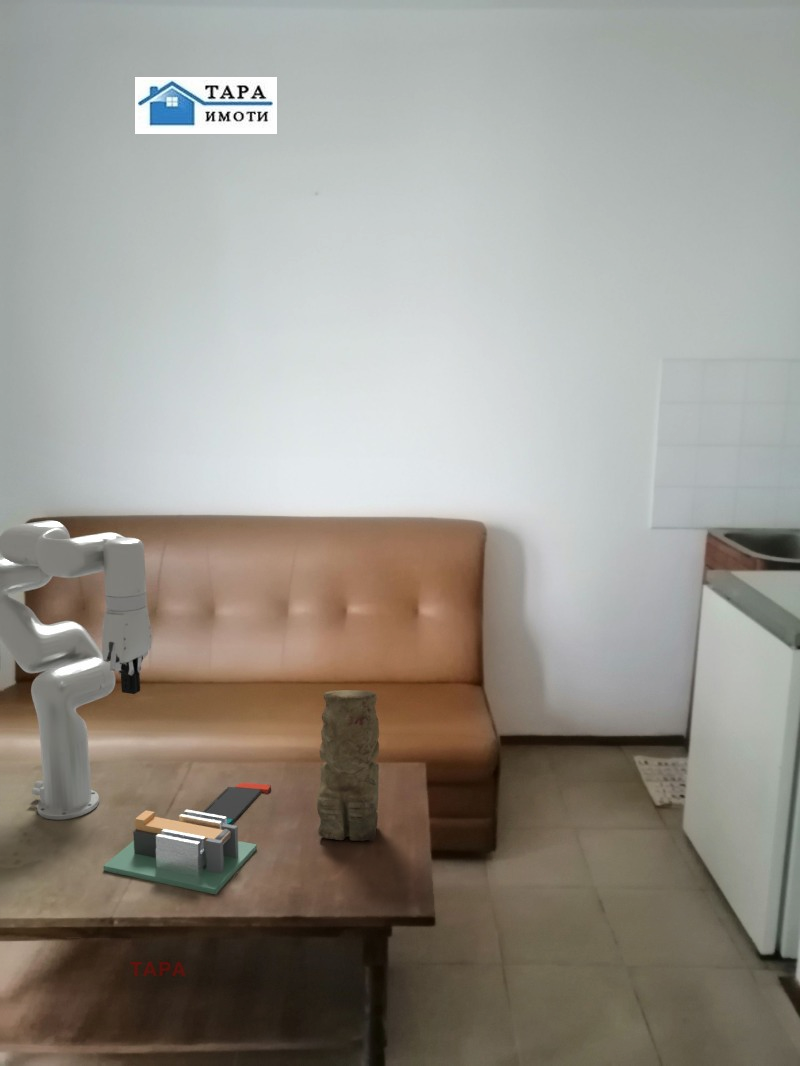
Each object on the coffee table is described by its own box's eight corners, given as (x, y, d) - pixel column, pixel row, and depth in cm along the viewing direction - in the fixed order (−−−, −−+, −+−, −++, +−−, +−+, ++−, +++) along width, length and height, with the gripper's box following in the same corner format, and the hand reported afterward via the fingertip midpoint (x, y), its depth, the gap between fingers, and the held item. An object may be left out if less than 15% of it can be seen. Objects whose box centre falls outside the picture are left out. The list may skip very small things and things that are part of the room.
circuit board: (103, 870, 161) (101, 835, 160) (152, 829, 176) (151, 796, 175) (215, 894, 154) (214, 858, 152) (256, 849, 168) (255, 815, 167)
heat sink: (156, 868, 160) (155, 836, 159) (188, 838, 170) (187, 809, 169) (198, 876, 157) (197, 844, 156) (228, 846, 167) (227, 816, 166)
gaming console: (192, 827, 178) (236, 831, 176) (192, 822, 178) (235, 826, 175) (233, 785, 197) (273, 788, 194) (233, 781, 196) (273, 784, 194)
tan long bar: (231, 838, 162) (230, 826, 162) (221, 847, 159) (221, 835, 159) (146, 821, 168) (145, 810, 168) (135, 830, 165) (135, 818, 164)
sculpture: (315, 844, 170) (313, 702, 165) (321, 821, 179) (319, 686, 174) (376, 845, 170) (376, 704, 165) (379, 822, 179) (379, 687, 174)
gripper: (133, 591, 172) (137, 677, 176) (84, 609, 158) (90, 703, 162) (165, 594, 170) (168, 681, 173) (119, 613, 156) (124, 707, 159)
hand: (131, 691), depth 167 cm, fingers closed
